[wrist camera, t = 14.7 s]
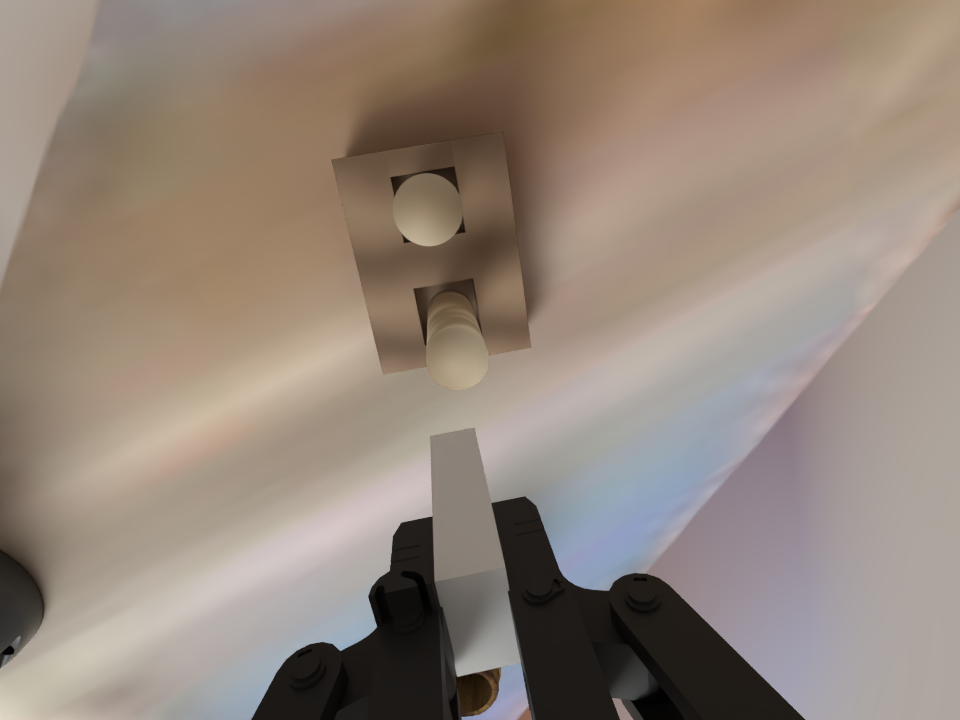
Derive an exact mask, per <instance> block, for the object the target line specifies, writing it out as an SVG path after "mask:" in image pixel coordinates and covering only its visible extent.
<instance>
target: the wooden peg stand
mask: <svg viewBox="0 0 960 720" xmlns="http://www.w3.org/2000/svg"><path fill="white" fill-rule="evenodd" d="M332 164H333V168H334V173H335V177H336V181H337V185H338V189H339V193H340V197H341V202H342V206H343V210H344V214H345V218H346V222H347V227H348V231H349V235H350V239H351V243H352V247H353V252H354V256H355V260H356V264H357V268H358V272H359V276H360V281H361V285H362V289H363V293H364V297H365V301H366V306H367V310H368V314H369V318H370V322H371V326H372V330H373V335H374V339H375V343H376V347H377V351H378V355H379V360H380V364H381V368H382V372H383V375H384V374H389V373H395V372H400V371H406V370H411V369H417V368H422V367H427V365H426V350H427V324H428V316H427V309H428V305H429V302H430V301H431V299H432V298H433V297H434V296H435V295H436V294H437V293H439V292H441V291H443V290H457V291H459V292H461V293H463V294H464V295H466V296H467V297H468V299H469V300H470V302H471V304H472V307H473V312H474V314H475V317H476V320H477V323H478V325H479V328H480V331H481V334H482V336H483V339H484V342H485V345H486V348H487V350H488V354H489V355H494V354H499V353H505V352H510V351H516V350H521V349H527V348H531V342H530V334H529V327H528V319H527V311H526V304H525V296H524V288H523V281H522V273H521V265H520V258H519V250H518V242H517V235H516V227H515V219H514V212H513V204H512V196H511V189H510V181H509V173H508V166H507V158H506V150H505V142H504V135H503V132H497V133H491V134H485V135H479V136H473V137H467V138H461V139H455V140H448V141H442V142H436V143H430V144H424V145H418V146H412V147H406V148H400V149H394V150H388V151H381V152H375V153H369V154H363V155H357V156H351V157H345V158H339V159H333V160H332Z"/></svg>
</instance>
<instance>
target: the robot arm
mask: <svg viewBox="0 0 960 720" xmlns="http://www.w3.org/2000/svg"><path fill="white" fill-rule="evenodd" d="M430 444H431V478H432V512H433V516H432V517H427V518H423V519H418V520H413V521H408V522H403V523H401V524H400V526H399V528H398V529H397V531H396V533H395V534H394V536H393V543H392V554H391V565H390V571H389V572H388V573H386V574H385V575H383V576H382V577H380V578H379V579H378V580H377V581H376V583H375V584H374V585H373V586H372V588H371V591H370V593H369V596H368V597H369V601H370V604H371V607H372V611H373V614H374V617H375V621H376V624H377V628H376V629H375V630H374V631H373V632H372V633H371V634H370V635H369V636H367V637H366V638H364V639H363V640H361V641H359V642H358V643H356V644H354V645H352V646H350V647H348V648H346V649H344V650H342V651H340V650H339V649H337V648H336V647H335V646H334V645H333V644H329V643H324V642H320V643H314V644H310V645H308V646H306V647H303V648H301V649H299V650H297V651H296V652H295V653H294V654H293V655H291V656H290V657H289V658H288V659H287V660H286V661H285V662H284V663H283V665H282V666H281V667H280V669H279V670H278V671H277V673H276V675H275V677H274V679H273V681H272V682H271V684H270V686H269V688H268V690H267V692H266V694H265V695H264V697H263V699H262V701H261V703H260V705H259V706H258V708H257V710H256V712H255V714H254V716H253V718H252V719H251V720H462V718H461V705H460V698H459V694H458V690H457V686H456V675H455V670H456V674H457V677H459V676H463V675H468V674H472V673H477V672H481V671H486V670H490V669H495V668H500V667H504V666H509V665H513V664H518V663H521V665H522V670H523V676H524V681H525V687H526V693H527V698H528V704H529V710H530V711H531V716H532V720H620V719H619V716H618V713H617V711H616V708H615V705H614V703H613V700H612V698H619V699H621V700H622V703H623V705H624V706H625V708H626V709H627V711H628V712H629V713H630V715H631V717H632V718H633V719H634V720H805V719H804V718H803V717H802V716H801V715H800V714H799V713H798V712H797V711H796V710H795V709H794V708H793V707H792V706H791V705H790V704H789V703H788V702H787V701H786V700H785V699H784V698H783V697H782V696H781V695H780V694H779V693H778V692H777V691H776V690H775V689H774V688H772V687H771V685H770V684H769V683H768V682H767V681H765V679H764V678H762V677H761V676H760V675H759V674H758V673H757V672H756V671H755V670H754V669H753V668H752V667H751V666H750V665H749V664H748V663H747V662H746V661H745V660H744V659H743V658H742V657H741V656H740V655H739V654H738V653H737V652H736V651H735V650H734V649H733V648H732V647H731V646H730V645H729V644H728V643H727V642H726V641H725V640H724V639H723V638H722V637H721V636H720V635H719V634H718V633H717V632H716V631H715V630H714V629H713V628H712V627H711V626H710V625H709V624H708V623H707V622H706V621H705V620H704V619H703V618H702V617H701V616H700V615H699V614H698V613H697V612H696V611H694V609H693V608H692V607H691V606H689V604H688V603H687V602H685V601H684V600H683V599H682V598H681V597H680V596H679V595H678V594H677V593H676V592H675V591H674V590H673V589H672V588H671V587H670V586H669V585H668V584H667V583H665V582H664V581H662V580H661V579H659V578H657V577H654V576H651V575H648V574H639V573H633V574H629V575H625V576H622V577H621V578H619V579H618V580H616V581H615V582H614V583H613V585H612V587H611V588H610V590H609V591H601V590H590V589H584V588H581V587H579V586H576V585H574V584H572V583H571V582H569V581H568V580H567V579H566V578H565V577H564V576H563V575H562V573H561V571H560V570H559V567H558V564H557V562H556V559H555V556H554V553H553V551H552V548H551V545H550V543H549V540H548V537H547V534H546V532H545V529H544V526H543V523H542V521H541V518H540V515H539V512H538V510H537V507H536V505H534V504H533V503H532V502H531V501H530V500H529V499H527V498H526V497H520V498H515V499H510V500H505V501H500V502H495V503H491V500H490V495H489V491H488V486H487V482H486V477H485V473H484V468H483V464H482V459H481V455H480V450H479V446H478V441H477V437H476V432H475V428H470V429H465V430H459V431H454V432H449V433H444V434H439V435H434V436H430ZM42 615H43V606H42V600H41V596H40V593H39V591H38V589H37V587H36V585H35V583H34V582H33V580H32V579H31V577H30V576H29V575H28V574H27V572H26V571H25V570H24V569H23V568H22V567H21V566H20V565H18V564H17V563H16V562H15V561H14V560H12V559H11V558H10V557H8V556H7V555H5V554H4V553H2V552H0V668H1V667H3V666H4V665H6V664H7V663H8V662H9V661H11V660H12V659H13V658H14V657H15V656H16V655H17V654H18V653H19V652H20V651H21V650H22V648H23V647H24V646H25V645H26V644H27V643H28V642H29V641H30V640H31V638H32V637H33V636H34V635H35V633H36V632H37V630H38V628H39V626H40V624H41V620H42Z"/></svg>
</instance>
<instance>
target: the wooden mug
mask: <svg viewBox="0 0 960 720" xmlns="http://www.w3.org/2000/svg"><path fill="white" fill-rule="evenodd" d="M455 675H456V686H457V690H458V694H459V698H460V705H461V717H466V716H474V715H479V714H481V713H483V712H484V711H486V710H487V709H488V708H489V707H491V706H492V704H493V703H494V701H495V700H496V698H497V695H498V691H499V681H500V677H501V667H500V668H495V669H490V670H486V671H481V672H477V673H472V674H468V675H463V676H459V677H457V674H456V670H455Z"/></svg>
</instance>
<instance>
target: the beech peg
mask: <svg viewBox="0 0 960 720" xmlns="http://www.w3.org/2000/svg"><path fill="white" fill-rule="evenodd" d="M427 316H428V324H427V350H426V365H427V369H428V372H429V374H430V376H431V377H432V378H433V380H434V381H435V382H436V383H438V384H439V385H441V386H443V387H445V388H448V389H452V390H462V389H467V388H469V387H472V386H474V385H475V384H477V383H478V382H479V381H480V380H481V379H482V378H483V377H484V375H485V373H486V371H487V369H488V365H489V354H488V350H487V348H486V345H485V342H484V339H483V336H482V334H481V331H480V328H479V325H478V323H477V320H476V317H475V314H474V312H473V307H472V304H471V302H470V300H469V299H468V297H467V296H466V295H464V294H463V293H461V292H459V291H457V290H443V291H441V292H439V293H437V294H436V295H435V296H434V297H433V298H432V299H431V301H430V302H429V305H428V309H427Z"/></svg>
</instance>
